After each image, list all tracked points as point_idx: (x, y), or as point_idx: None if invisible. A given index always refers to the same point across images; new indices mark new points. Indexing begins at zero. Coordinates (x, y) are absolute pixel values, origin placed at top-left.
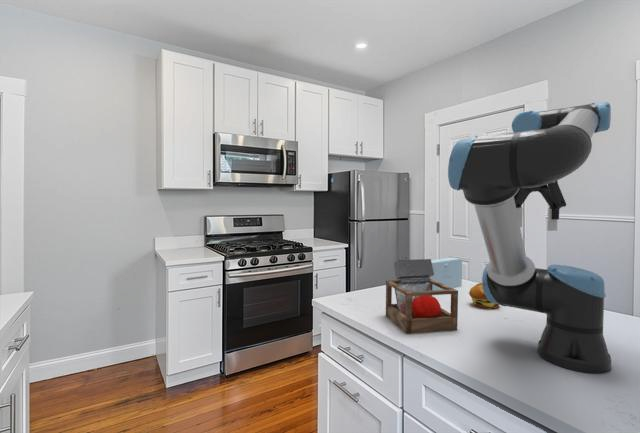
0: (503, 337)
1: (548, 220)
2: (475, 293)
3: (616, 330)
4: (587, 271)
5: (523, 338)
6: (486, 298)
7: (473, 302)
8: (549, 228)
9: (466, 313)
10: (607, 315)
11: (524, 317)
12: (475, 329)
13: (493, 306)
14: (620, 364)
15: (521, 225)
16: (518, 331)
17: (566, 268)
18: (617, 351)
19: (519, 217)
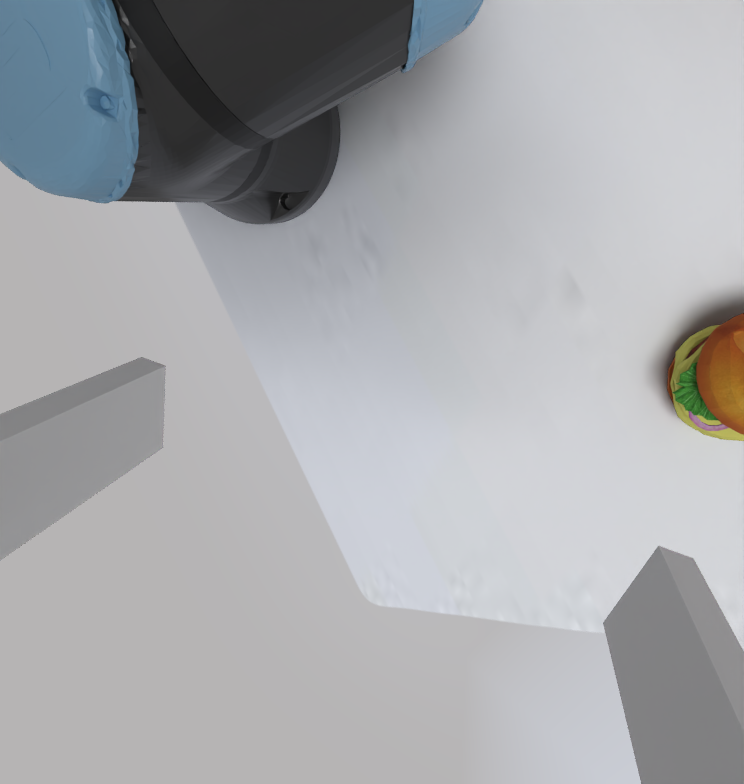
0: (453, 74)
1: (52, 408)
2: None
3: (334, 468)
4: (12, 136)
5: (413, 144)
6: (712, 333)
7: None
8: (124, 366)
9: (730, 181)
10: (406, 578)
11: (533, 363)
12: (570, 27)
13: (675, 358)
14: (208, 224)
15: (612, 638)
16: (461, 195)
17: (23, 27)
18: (255, 309)
19: (670, 743)
